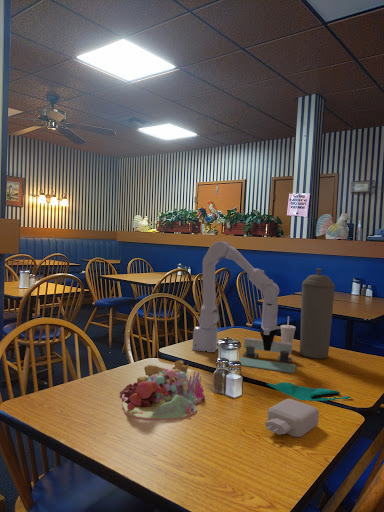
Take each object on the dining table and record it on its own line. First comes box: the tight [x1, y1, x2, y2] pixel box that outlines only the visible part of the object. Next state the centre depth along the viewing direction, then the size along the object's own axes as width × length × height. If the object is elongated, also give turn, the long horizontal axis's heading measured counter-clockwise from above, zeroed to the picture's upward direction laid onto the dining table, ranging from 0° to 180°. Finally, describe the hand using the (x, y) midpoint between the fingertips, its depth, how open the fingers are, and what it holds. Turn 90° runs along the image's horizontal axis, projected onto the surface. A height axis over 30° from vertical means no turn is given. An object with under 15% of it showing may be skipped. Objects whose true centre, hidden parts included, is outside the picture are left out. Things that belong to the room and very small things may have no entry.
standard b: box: [276, 351, 293, 364], centre depth 155 cm, size 5×6×4 cm
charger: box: [264, 398, 320, 438], centre depth 98 cm, size 5×9×15 cm
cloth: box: [265, 382, 352, 402], centre depth 122 cm, size 26×14×2 cm, turn 56°
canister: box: [299, 268, 336, 360], centre depth 162 cm, size 13×13×35 cm
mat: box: [239, 356, 296, 374], centre depth 147 cm, size 22×9×1 cm, turn 72°
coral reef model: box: [119, 360, 206, 422], centre depth 112 cm, size 25×24×9 cm
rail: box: [243, 337, 293, 355], centre depth 156 cm, size 18×3×4 cm, turn 72°
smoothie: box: [279, 315, 297, 344], centre depth 170 cm, size 6×6×14 cm
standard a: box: [242, 347, 259, 359], centre depth 159 cm, size 5×6×4 cm
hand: (267, 349), depth 157 cm, fingers closed on rail, 3 cm apart
